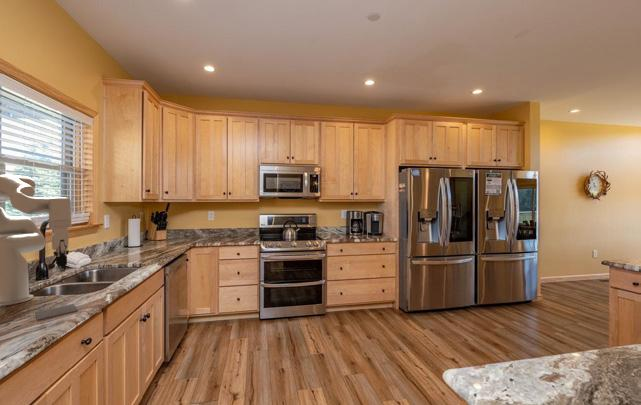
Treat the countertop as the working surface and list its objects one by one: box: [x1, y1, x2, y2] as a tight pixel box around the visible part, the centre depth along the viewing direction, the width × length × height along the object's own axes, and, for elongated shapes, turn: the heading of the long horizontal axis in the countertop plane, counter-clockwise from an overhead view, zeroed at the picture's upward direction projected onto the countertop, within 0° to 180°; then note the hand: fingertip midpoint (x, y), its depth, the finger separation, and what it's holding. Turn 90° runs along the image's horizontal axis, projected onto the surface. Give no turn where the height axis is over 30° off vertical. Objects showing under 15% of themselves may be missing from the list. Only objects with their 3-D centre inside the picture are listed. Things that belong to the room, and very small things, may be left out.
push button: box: [52, 249, 70, 273], centre depth 127 cm, size 7×5×10 cm
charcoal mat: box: [35, 303, 79, 322], centre depth 117 cm, size 12×12×1 cm
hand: (61, 263), depth 128 cm, fingers closed on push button, 4 cm apart
